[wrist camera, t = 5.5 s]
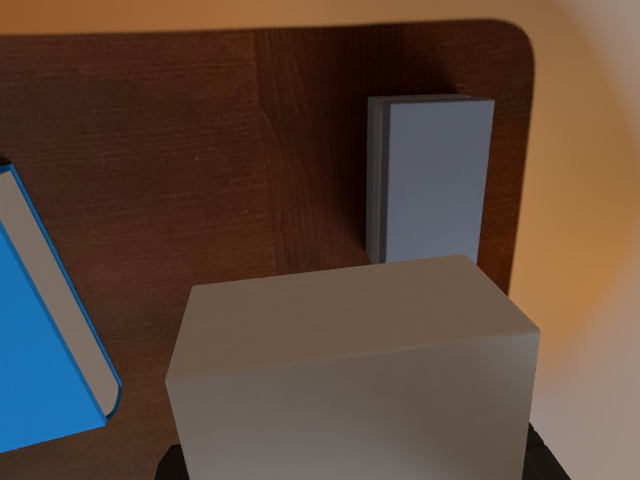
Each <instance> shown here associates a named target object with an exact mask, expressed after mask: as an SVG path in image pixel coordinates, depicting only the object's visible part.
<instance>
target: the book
mask: <svg viewBox="0 0 640 480" xmlns="http://www.w3.org/2000/svg"><path fill="white" fill-rule="evenodd" d="M121 387H122V383H121V381H120V379H119V377H118V375H117V373H116V371H115V369H114V367H113V365H112V363H111V361H110V359H109V357H108V355H107V353H106V351H105V349H104V347H103V345H102V343H101V341H100V339H99V337H98V335H97V333H96V330H95V328H94V326H93V324H92V322H91V320H90V318H89V316H88V314H87V312H86V310H85V308H84V306H83V304H82V302H81V300H80V298H79V296H78V294H77V292H76V290H75V288H74V286H73V284H72V282H71V280H70V278H69V276H68V274H67V272H66V270H65V268H64V266H63V264H62V262H61V260H60V258H59V256H58V254H57V252H56V250H55V248H54V246H53V244H52V242H51V240H50V238H49V236H48V234H47V232H46V230H45V228H44V226H43V224H42V222H41V220H40V218H39V216H38V214H37V212H36V210H35V208H34V206H33V204H32V202H31V200H30V198H29V196H28V194H27V192H26V190H25V188H24V186H23V184H22V182H21V180H20V178H19V176H18V174H17V172H16V170H15V168H14V166H13V164H9V165H5V166H1V167H0V453H1V452H5V451H9V450H13V449H17V448H21V447H24V446H28V445H32V444H36V443H40V442H44V441H48V440H51V439H55V438H59V437H63V436H67V435H71V434H75V433H78V432H82V431H86V430H90V429H94V428H98V427H101V426H105V425H106V422H107V420H109V419H111V418H112V417H113V416H114V414H115V413H116V411H117V409H118V406H119V402H120V397H121Z"/></svg>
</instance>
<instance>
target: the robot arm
mask: <svg viewBox="0 0 640 480" xmlns="http://www.w3.org/2000/svg"><path fill="white" fill-rule="evenodd" d="M155 480H190V479H189V475H188V471H187V467H186V463H185V459H184V455H183V451H182V447H181V444H179V445H172V446H171V447H170V448H169V450H168V451H167V453H166V454H165V455H164V457H163V458H162V460H161V461H160V463H159V464H158V468H157V472H156V476H155ZM522 480H571V479H570V478H569V476H568V475H567V473H566V472H565V471H564V469H563V468H562V466H561V465H560V464H559V462H558V461H557V460H556V458H555V457H554V455H553V454H552V453H551V451H550V450H549V448H548V447H547V446H546V445H544V441H543V440H542V439H541V437H540V436H539V435H538V433H537V432H536V431H534V428H533V426H532V425H531V423H530V422H529V426H528V434H527V442H526V449H525V457H524V465H523V473H522Z"/></svg>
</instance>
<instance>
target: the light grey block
mask: <svg viewBox="0 0 640 480" xmlns="http://www.w3.org/2000/svg"><path fill="white" fill-rule="evenodd" d="M539 341H540V330H539V328H538V327H537V326H536V325H535V324H534V323H533V322H532V321H531V320H530V319H529V318H528V317H527V316H526V315H525V314H524V313H523V312H522V311H521V310H520V309H519V308H518V307H517V306H516V305H515V304H514V303H513V302H512V301H511V300H510V299H509V298H508V297H507V296H506V295H505V294H504V293H503V292H502V291H501V290H500V289H499V288H498V287H497V286H496V285H495V284H494V283H493V282H492V281H491V280H490V279H489V278H488V277H487V276H486V275H485V274H484V273H483V272H482V271H481V270H480V269H479V268H478V267H477V266H476V265H475V264H474V263H473V262H472V261H471V260H470V259H469V257H468V256H467V255H465V254H459V255H450V256H442V257H433V258H425V259H417V260H408V261H400V262H391V263H383V264H374V265H366V266H358V267H349V268H341V269H332V270H324V271H315V272H307V273H298V274H290V275H282V276H273V277H265V278H256V279H248V280H239V281H231V282H222V283H214V284H206V285H197V286H193V287H192V289H191V293H190V296H189V300H188V303H187V307H186V310H185V314H184V317H183V321H182V324H181V328H180V331H179V335H178V338H177V341H176V345H175V348H174V352H173V355H172V359H171V362H170V366H169V369H168V373H167V376H166V380H165V383H166V387H167V391H168V395H169V399H170V403H171V407H172V411H173V415H174V419H175V423H176V427H177V431H178V435H179V439H180V443H181V447H182V451H183V455H184V459H185V463H186V467H187V471H188V475H189V479H190V480H522V473H523V465H524V457H525V449H526V442H527V434H528V426H529V418H530V410H531V403H532V395H533V387H534V379H535V372H536V364H537V356H538V348H539Z"/></svg>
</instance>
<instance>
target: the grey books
mask: <svg viewBox="0 0 640 480" xmlns="http://www.w3.org/2000/svg"><path fill="white" fill-rule="evenodd" d="M494 103H495V101H494V100H493V99H489V98H484V97H471V96H468V95H463V94H431V95H402V96H374V97H368V119H367V191H366V253H367V255H368V257H369V259H370V261H371V263H373V265H374V264H383V263H391V262H400V261H408V260H417V259H425V258H433V257H442V256H450V255H459V254H465V255H467V256H468V257H469V259H470V260H471V261H472V262H473V263H474V264H475V265H476V264H477V255H478V246H479V237H480V228H481V219H482V210H483V201H484V192H485V183H486V174H487V165H488V156H489V147H490V138H491V129H492V120H493V112H494Z"/></svg>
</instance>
